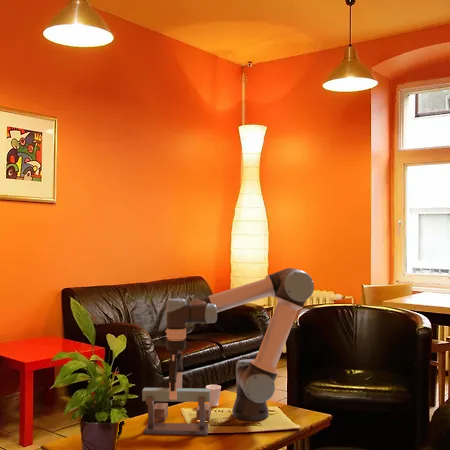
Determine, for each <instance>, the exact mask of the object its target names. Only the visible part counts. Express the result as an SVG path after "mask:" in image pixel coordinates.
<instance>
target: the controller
mask: <svg viewBox="0 0 450 450" xmlns="http://www.w3.org/2000/svg"><path fill="white" fill-rule="evenodd" d="M125 424H126V423H125V420H124V421H122V422H120V424H119V432H118V436H117V437H120V436H121V435H122V433H123V426H125Z"/></svg>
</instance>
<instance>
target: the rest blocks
mask: <svg viewBox="0 0 450 450" xmlns="http://www.w3.org/2000/svg"><path fill="white" fill-rule="evenodd" d="M211 411H212V406H211V404H209V403H205V421H209V422H210V420H209V419H211V417H210V415H211V414H212V413H211ZM195 414H196V416H195V417H196V418H195V419H196V420H200V417H199V406H198V405H197V407H196V413H195ZM168 415H169V403H168V402H156V403H154V423H166V420H167V418H168ZM211 416H212V415H211ZM196 420H195V421H196Z"/></svg>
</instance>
